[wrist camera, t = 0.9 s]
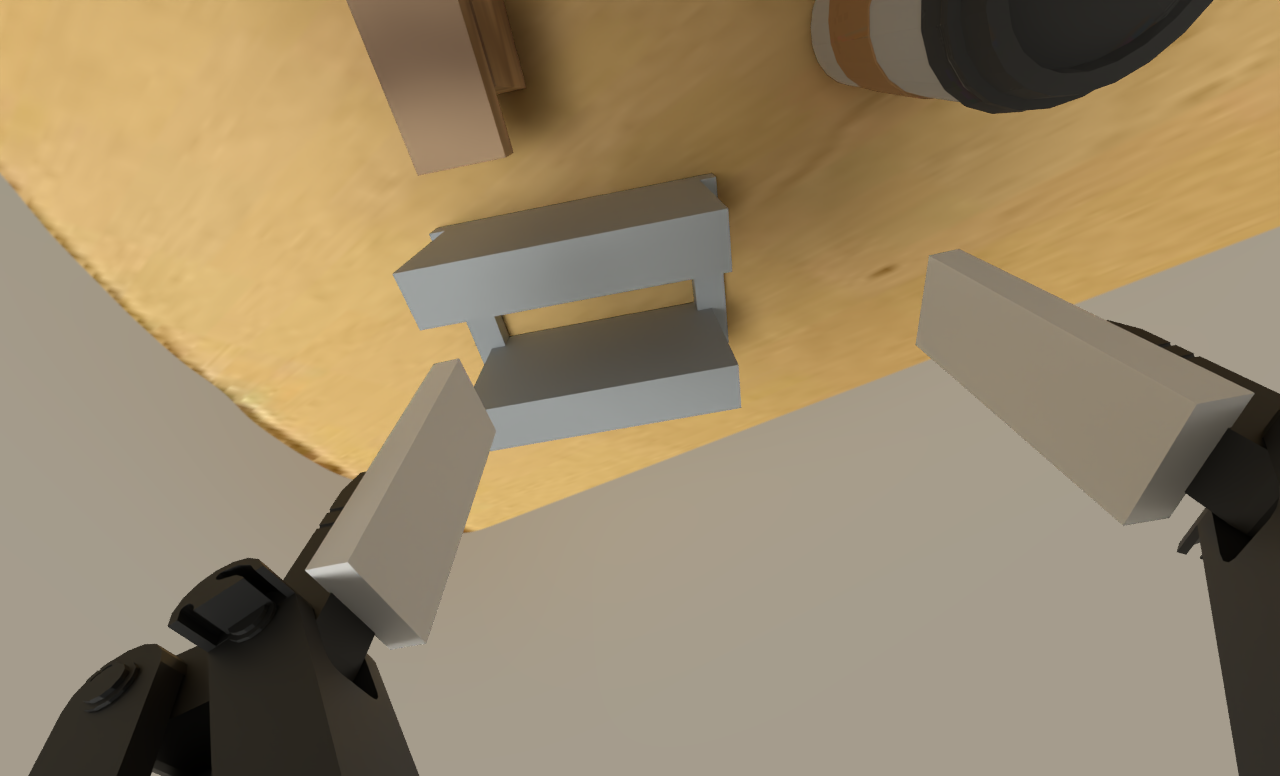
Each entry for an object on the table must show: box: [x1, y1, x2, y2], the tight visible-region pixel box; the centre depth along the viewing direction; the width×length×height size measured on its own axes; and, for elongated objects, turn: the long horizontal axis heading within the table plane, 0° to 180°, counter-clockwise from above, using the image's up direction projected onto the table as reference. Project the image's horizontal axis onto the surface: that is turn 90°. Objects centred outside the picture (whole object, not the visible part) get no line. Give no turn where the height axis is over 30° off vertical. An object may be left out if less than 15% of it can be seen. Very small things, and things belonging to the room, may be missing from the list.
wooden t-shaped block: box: [346, 0, 526, 175], centre depth 21 cm, size 9×4×10 cm, turn 10°
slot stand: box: [393, 173, 741, 451], centre depth 28 cm, size 11×18×10 cm, turn 100°
